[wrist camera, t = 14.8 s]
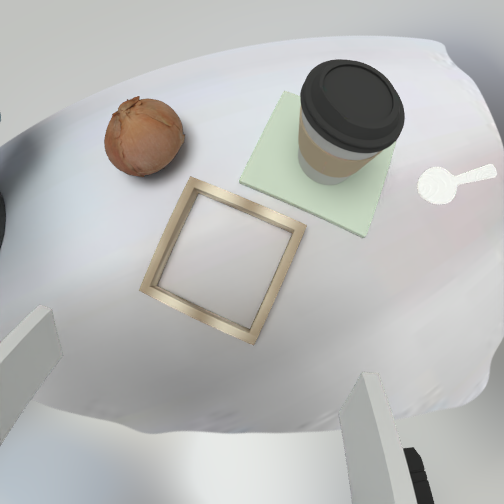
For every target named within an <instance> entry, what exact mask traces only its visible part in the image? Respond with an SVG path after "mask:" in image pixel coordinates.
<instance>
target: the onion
mask: <svg viewBox="0 0 504 504" xmlns="http://www.w3.org/2000/svg"><path fill="white" fill-rule="evenodd" d="M139 97H140V96H137V97H134V98H133V99H130V100H128V99H127V101H125V102H123V103H122V104H121V105H120V106H119V108H118V111H117V112H115V113H113V114H112V115H113V116H112V118H111V120H110V122H109V125H108V127H107V130H106V134H105V140H104V144H105V150H106V154H107V156H108V158H109V160H110V161H111V162H112V164H113V165H114V166H115V167H116V168H118V169H119V170H120V171H123V172H125V173H126V174H128V175H133V176H140V177H144V175H150V174H152V173H155V172H158V171H159V170H161V169H164V167H165V166H166V165H167V164H169V163H170V162H171V161H172V160H173V158H174V157H175V155H176V154H177V153H178V151H179V149H180V147H181V144H183V143H184V139H185V135H183V129H182V123H181V120H180V119H179V117H178V115H177V114H176V113H175V111H174V110H173V109H172V108H171V107H170V106H168V105H167V104H165V103H163V102H161V101H158V100H154V99H141V100H139Z"/></svg>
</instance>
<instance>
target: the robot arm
mask: <svg viewBox="0 0 504 504" xmlns="http://www.w3.org/2000/svg"><path fill="white" fill-rule="evenodd" d="M0 121H1V114H0ZM4 229H5V206H4V201H3V198H2V195H1V193H0V247H1V243H2V240H3V235H4ZM62 356H63V353H62V349H61V345H60V342H59V338H58V334H57V330H56V326H55V321H54V317H53V312H52V309H51V308H48V307H45V306H42V305H40V304H39V305H38V306H37V307H36V308H35V309H34V310H33V311H32V312H31V313H30V314H29V315H28V316H27V317H26V318H25V319H24V320H23V321H22V322H21V323H20V324H19V325H18V326H17V327H16V328H15V329H14V330H13V331H12V332H11V333H10V334H9V335H8V336H7V337H6V338H5V339H4V340H3V341H2V342H1V343H0V446H1V444H2V443H3V441H4V439H5V438H6V436H7V435H8V433H9V431H10V430H11V428H12V427H13V425H14V424H15V422H16V421H17V419H18V418H19V416H20V415H21V413H22V411H23V410H24V409H25V407H26V406H27V404H28V403H29V401H30V400H31V399H32V397H33V396H34V394H35V393H36V392H37V390H38V389H39V387H40V386H41V385H42V383H43V382H44V380H45V379H46V378H47V376H48V375H49V374H50V372H51V371H52V370H53V368H54V367H55V366H56V364H57V363H58V362H59V360H60V359H61V358H62ZM339 418H340V424H341V430H342V436H343V443H344V449H345V455H346V462H347V469H348V476H349V484H350V491H351V499H352V504H434V501H433V497H432V493H431V490H430V486H429V482H428V480H427V475H426V472H425V471H424V465H423V462H422V459H421V457H420V455H419V454H418V453H417V452H416V450H415V449H414V448H413V447H412V448H404V449H403V447H402V444H401V441H400V437H399V434H398V431H397V428H396V424H395V421H394V418H393V415H392V412H391V409H390V405H389V402H388V399H387V396H386V393H385V390H384V388H383V385H382V382H381V379H380V376H379V373H369V372H362V373H361V375H360V377H359V379H358V380H357V382H356V384H355V386H354V388H353V389H352V391H351V393H350V395H349V396H348V398H347V400H346V402H345V403H344V405H343V407H342V408H341V410H340V412H339Z"/></svg>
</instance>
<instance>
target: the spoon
mask: <svg viewBox="0 0 504 504" xmlns="http://www.w3.org/2000/svg"><path fill="white" fill-rule="evenodd" d="M496 176H497V170H496V168H495V167H494V165H493V164H491V163H490V164H487V165H484V166H481V167H479V168H476V169H473V170H470V171H468V172H465V173H462V174H460V175H457V176H453V175H452V174H450V173H449V172H448V171H447V170H446V169H444V168H440V167H432V168H429V169H428V170H426V171H425V172H424V173H422V175H421V176H420V178H419V180H418V183H417V191H418V193H419V195H420V196H421V197H422V198H423V199H424V200H425V201H427V202H429V203H432V204H436V205H444V204H447V203H449V202H451V201H452V200H453V198H454V197H455V195H456V188H457V186H458V185H461V184H465V183H471V182H475V181H480V180H485V179H491V178H495V177H496Z"/></svg>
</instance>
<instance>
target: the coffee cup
mask: <svg viewBox="0 0 504 504" xmlns="http://www.w3.org/2000/svg"><path fill="white" fill-rule="evenodd" d="M300 101H301V106H300V118H299V135H298V144H299V149H298V160H299V164H300V166H301V168H302V170H303V172H304V173H305V174H306V175H307V176H308V177H309V178H310V179H312V180H313V181H315V182H317V183H320V184H323V185H335V184H339V183H341V182H343V181H344V180H345V179H347V178H348V177H349V176H350V175H353V174H354V173H356V172H357V171H359V170H360V169H361V168H362V167H363V166H365V165H366V164H367V163H368V162H370V161H371V160H372V159H373V158H375V157H376V156H377V155H378V154H380V153H381V152H382V151H383V150H384V149H386V148H388V147H390V146H391V145H392V144H393V143H394V142H395V141H396V140H397V139H398V137H399V135H400V133H401V131H402V128H403V125H404V118H405V116H404V108H403V104H402V102H401V99H400V97H399V95H398V93H397V92H396V90H395V89H394V87H393V85H392V84H391V83H390V81H389V80H388V79H387V78H386V77H385V76H384V75H383V74H382V73H380V72H379V71H378V70H376V69H375V68H373V67H371V66H369V65H367V64H364V63H361V62H357V61H351V60H330V61H326V62H323V63H321V64H319V65H318V66H316V67H315V68H314V69H312V70H311V72H310V73H309V74H308V76H307V78H306V80H305V82H304V84H303V86H302V89H301V95H300Z"/></svg>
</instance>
